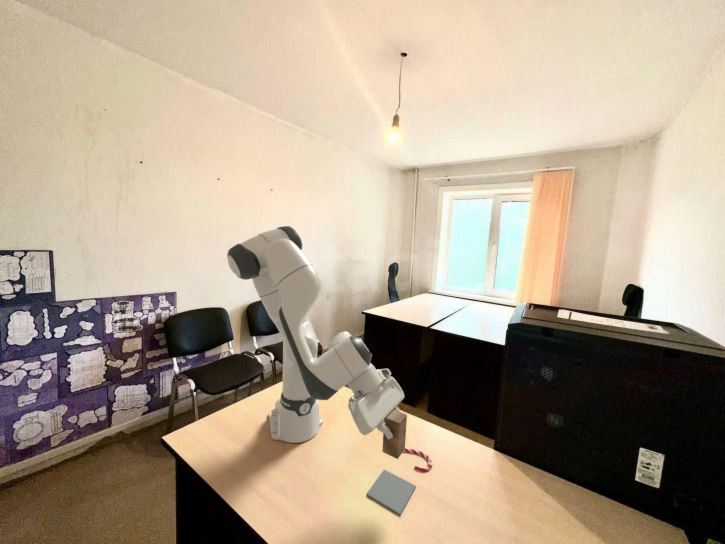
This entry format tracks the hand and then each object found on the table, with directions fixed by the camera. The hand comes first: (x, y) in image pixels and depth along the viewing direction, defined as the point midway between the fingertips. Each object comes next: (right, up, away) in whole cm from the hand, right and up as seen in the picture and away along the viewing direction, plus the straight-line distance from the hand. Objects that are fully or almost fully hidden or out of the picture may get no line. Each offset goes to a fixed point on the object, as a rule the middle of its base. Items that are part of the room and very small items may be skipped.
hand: (396, 430), depth 77 cm
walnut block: (-1, -6, +1) cm, 6 cm away
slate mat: (-1, -18, +2) cm, 18 cm away
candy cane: (+5, -17, +15) cm, 23 cm away
